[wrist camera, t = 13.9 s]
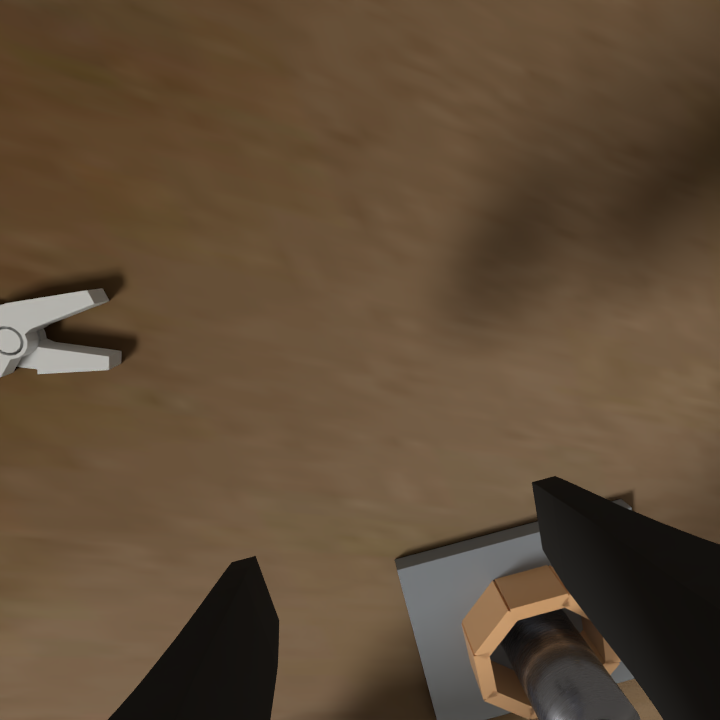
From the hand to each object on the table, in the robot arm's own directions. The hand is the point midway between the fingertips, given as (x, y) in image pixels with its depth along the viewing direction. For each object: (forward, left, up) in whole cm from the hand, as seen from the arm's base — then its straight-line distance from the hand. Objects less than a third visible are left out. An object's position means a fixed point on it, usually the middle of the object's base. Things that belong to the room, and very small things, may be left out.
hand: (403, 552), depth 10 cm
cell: (+6, -15, -10) cm, 19 cm away
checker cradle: (+6, -15, -10) cm, 19 cm away
